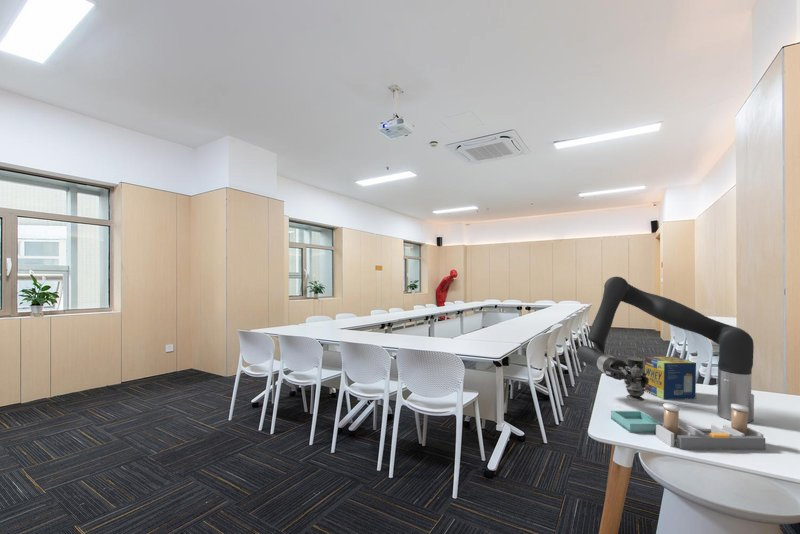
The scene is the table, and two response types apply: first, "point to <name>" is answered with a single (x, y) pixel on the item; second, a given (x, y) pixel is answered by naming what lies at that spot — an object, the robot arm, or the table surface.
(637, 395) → the salt shaker
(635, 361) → the ink bottle
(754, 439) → the fuse rail
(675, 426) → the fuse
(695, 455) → the table surface
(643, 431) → the tray
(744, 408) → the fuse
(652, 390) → the protein box
